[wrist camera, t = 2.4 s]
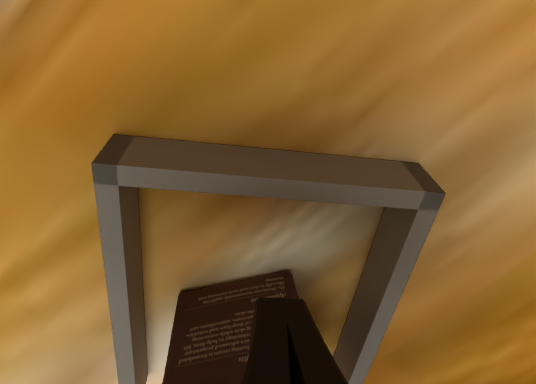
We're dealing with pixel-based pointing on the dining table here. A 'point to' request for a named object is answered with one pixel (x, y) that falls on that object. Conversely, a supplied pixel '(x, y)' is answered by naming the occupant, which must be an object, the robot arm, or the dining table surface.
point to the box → (218, 329)
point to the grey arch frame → (269, 186)
